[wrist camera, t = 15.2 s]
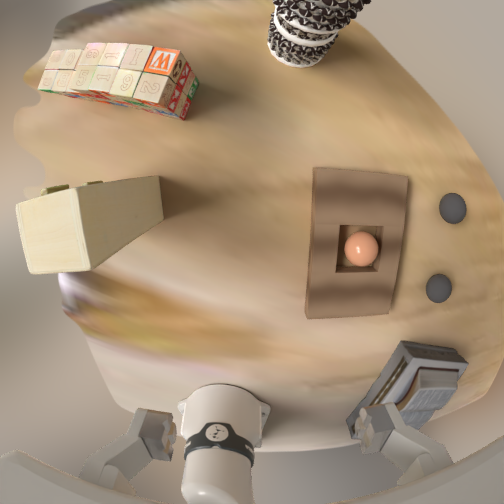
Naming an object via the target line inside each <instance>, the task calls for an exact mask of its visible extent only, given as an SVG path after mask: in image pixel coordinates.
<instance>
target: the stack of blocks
mask: <svg viewBox="0 0 504 504" xmlns="http://www.w3.org/2000/svg"><path fill="white" fill-rule="evenodd" d="M198 84H199V82H198V80H197V78H196V76H195V75H194V73H193V72H192V70H191V67H190V66H189V64H188V62H187V61H186V60H185V58H184V56H183V54H182V53H181V51H180V50H174V49H167V48H160V47H153V46H150V45H138V44H128V43H88V44H87V46H86V48H85V50H83V49H68V50H54V51H53V52H52V54H51V56H50V59H49V61H48V63H47V65H46V68H45V71H44V74H43V76H42V79H41V82H40V84H39V87H38V90H41V91H45V92H50V93H56V94H60V95H65V96H68V97H72V98H81V99H84V100H91V101H98V102H103V103H108V104H116V105H122V106H126V107H132V108H136V109H141V110H146V111H148V112H152V113H156V114H160V115H164V116H167V117H171V118H175V119H178V120H182V121H184V120H185V117H186V114H187V112H188V109H189V106H190V104H191V101H192V98H193V96H194V93H195V91H196V88H197V86H198Z"/></svg>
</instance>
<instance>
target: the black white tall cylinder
mask: <svg viewBox="0 0 504 504" xmlns="http://www.w3.org/2000/svg"><path fill="white" fill-rule="evenodd" d="M370 2H371V0H273V3H274V5H275V12H273V13H272V14H271V17H272V19H271V20H270V25H269V31H268V47H269V49H270V52H271V54H272V55H273V56H274V57H275V58H276V59H277V60H278V61H279V62H282V63H284V64H286V65H288V66H290V67H297V68H304V67H310V66H313V65H314V64H316V63H318V62H319V61H320V60H321V59H322V58H323V57H324V56H325V54H326V53H327V52H328V51H327V50H328V49H330V48H331V45H333V44H334V41H335V38H337V37H338V33H337V32H338V31H339V30H341V29H343V28H345V26H346V25H348V24H349V23H350V18H351V19H355V18H356V16H357V12H358V11H361V10H362V9H363V6H364V4H369V3H370Z"/></svg>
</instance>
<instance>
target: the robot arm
mask: <svg viewBox="0 0 504 504" xmlns="http://www.w3.org/2000/svg"><path fill="white" fill-rule="evenodd" d="M178 409H179V411H180V413H181V414H182V416H183V419H182V426H181V434H182V435H183V437H184V439H185V440H186V441H187V442H186V446H185V450H184V458H185V460H186V463H185V469H184V474H183V480H182V486H181V491H182V494H183V497H184V498H185V500H186V501H187V502H188V504H255V502H254V497H253V490H252V476H251V468H252V466H253V464H254V448H255V447H256V448H260V447H261V445H262V435H261V432H262V430H263V427H264V425H265V423H266V420H267V418H268V415H269V413H270V406H269V405H268V404H266V403H263V402H261V401H259V400H257V399H256V398H255V397H254V396H253V395H252V394H250V393H249V392H247V391H246V390H243V389H241V388H238V387H235V386H230V385H222V384H217V385H208V386H204V387H201V388H199V389H197V390H196V391H194V392H193V393H192V394H191V395H190V396H189V397H188V398H187V399H184V400H182V401H180V402H179V403H178ZM359 414H360V417H358V418H357V419H356V422H355V433H356V436H357V438H359V439H360V440H361V442H360V444H359V445H360V448H361V451H362V454H363V455H366V454H371V453H376V452H380V453H381V454H382V455H383V456H384V457H386V458H387V459H388V460H389V461H391V462H392V463H393V464H394V465H396V466H397V467H398V468H399V469H400V470H402V471H403V472H404V474H403V475H402V476H401V477H400V479H399V480H398V482H397V483H398V487H394V488H391V489H388V490H385V491H381V492H378V493H374V494H370V495H366V496H362V497H358V498H354V499H349V500H345V501H340V502H334V503H329V504H504V435H503V436H501V437H499V438H498V439H496V440H495V441H493V442H492V443H490V444H488V445H487V446H485V447H483V448H482V449H480V450H478V451H477V452H475V453H473V454H471V455H469V456H468V457H466V458H464V459H462V460H460V461H458V462H456V463H453V461H452V459H451V457H450V455H449V453H448V452H447V450H446V448H445V446H444V445H443V444H441V443H439V442H437V441H436V440H434V439H432V438H430V437H428V436H426V435H425V434H423V433H421V432H420V431H418V430H416V429H414V428H413V427H411V426H409V425H408V426H406V425H405V423H404V421H403V419H402V417H401V415H400V413H399V411H398V409H397V407H396V406H395V404H394V403H393V402H388V403H384V404H378V405H373V406H368V407H363V408H361V410H360V412H359ZM172 421H173V416H172V413H167V412H161V411H154V410H149V409H143V408H138V409H137V410H136V411H135V414H134V416H133V419H132V422H131V424H130V427H129V429H128V432H127V434H123V435H121V436H120V437H118V438H117V439H115V440H114V441H112V442H110V443H109V444H107V445H106V446H104V447H103V448H101V449H100V450H98V451H97V452H95V453H93V454H92V455H90V456H89V457H87V459H86V461H85V464H84V466H83V468H82V471H81V473H80V476H79V478H77V477H75V476H72V475H70V474H67V473H65V472H63V471H61V470H58V469H56V468H54V467H52V466H50V465H48V464H46V463H44V462H41V461H40V460H38V459H36V458H34V457H32V456H30V455H28V454H27V453H25V452H23V451H20V450H14V451H11V452H9V453H6V454H4V455H1V456H0V504H170V503H165V502H159V501H154V500H150V499H145V498H141V497H137V496H136V490H135V489H134V488H133V487H132V485H131V484H130V483H129V481H130V480H131V479H132V478H133V477H134V476H136V475H137V474H138V473H139V472H140V471H141V470H142V469H143V468H144V467H145V466H146V465H148V464H149V463H150V462H151V461H152V459H157V460H164V461H171V458H172V454H173V448H172V444H174V443H175V441H176V434H177V430H176V425H175V423H174V422H172Z"/></svg>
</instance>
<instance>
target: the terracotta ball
mask: <svg viewBox="0 0 504 504" xmlns="http://www.w3.org/2000/svg"><path fill="white" fill-rule="evenodd" d="M377 254H378V243H377V241H376V239H375V238H374V237H373V236H372V235H371V234H369V233H367V232H363V231H360V232H356V233H353V234H352V235H351V236H350V237H349V238H348V239H347V241H346V243H345V255H346V257H347V259H348V260H349V261H350V262H351V263H352V264H354V265H356V266H361V267H363V266H367V265H369V264H371V263H372V262H373V261H374V260H375V259H376V257H377Z"/></svg>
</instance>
